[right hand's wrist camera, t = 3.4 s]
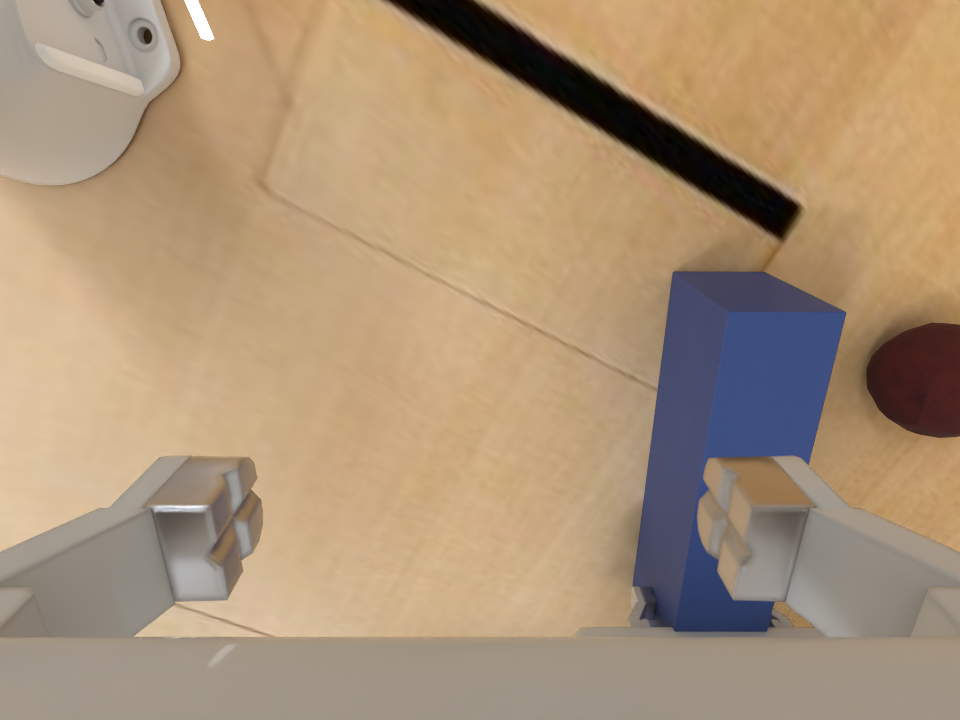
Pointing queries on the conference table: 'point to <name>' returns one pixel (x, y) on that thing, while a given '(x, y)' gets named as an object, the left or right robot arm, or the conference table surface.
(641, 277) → the conference table surface
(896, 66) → the conference table surface
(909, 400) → the potato
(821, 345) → the box
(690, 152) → the conference table surface
